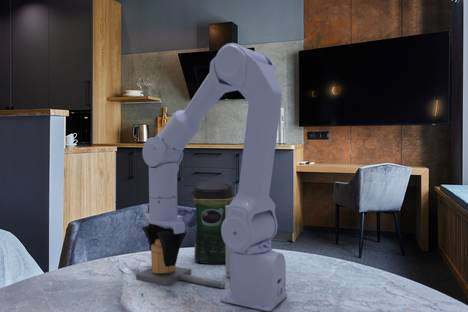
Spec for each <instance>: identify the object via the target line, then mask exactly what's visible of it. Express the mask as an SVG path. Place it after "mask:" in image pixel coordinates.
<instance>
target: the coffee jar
mask: <svg viewBox="0 0 468 312" xmlns="http://www.w3.org/2000/svg"><path fill="white" fill-rule="evenodd" d="M193 190H194V192H193V200H192V201H193V204H194V207H195V212H196V218H195V220H196V221H195V223H196V224H195V225H196V227H195V238H194V239H195V240H194V252H193V253H194V255H193V256H194V260H195V261H196V262H197V263H203V264H214V265H215V264H217V265H218V264H226V244H225V242H224V241H223V238H222V234H221V227H222V223H223V221H224V220H225V214H226V213H225V206H228V205H230V203H231V202H232V200H233V199H234V198H235V193H234V187H233V183H232V182H228V181H206V182H205V181H203V182H198V183H196V184H195V186H194V188H193Z"/></svg>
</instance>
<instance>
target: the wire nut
mask: <svg viewBox="0 0 468 312" xmlns="http://www.w3.org/2000/svg"><path fill="white" fill-rule="evenodd" d="M150 255H151V257H150V258H151V259H150V260H151V268H152V272H154V273H159V274H160V273H170V272H172V271H175V270H176V267H177V266H176V265H173V266H168V267H166V266H165V264H164V259H163V250H162V245H161V242H160V239H156V240H155V243H154V244H152V245H151V249H150Z"/></svg>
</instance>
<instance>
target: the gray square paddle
mask: <svg viewBox="0 0 468 312" xmlns="http://www.w3.org/2000/svg"><path fill="white" fill-rule="evenodd" d="M135 279H136V280H138V281H143V282H148V283H152V284H156V285H162V286H166V287H167V286H170V285H173V284H175V283H176V282H178V281H184V282H188V283H195V284H199V285H203V286H207V287H209V286H210V287H214V288H218V289H219V288H220V289H224V288H225V287H226V283H225V282H224V281H223V280H217V279H211V278H204V277H201V276H200V277H199V276H194V275H192V268H187V267H181V266H176V270H175V271H172V272H170V273H160V274H159V273H154V272H152V267H151V268H149V269H146V270H144V271H141V272H138V273H136V274H135Z"/></svg>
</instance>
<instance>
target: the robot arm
mask: <svg viewBox="0 0 468 312" xmlns="http://www.w3.org/2000/svg"><path fill="white" fill-rule="evenodd" d="M276 67H277V66H276V64H275V63H274V61H273V60H271V59H270V58H269V57H268V55H266V54H265V53H263V52H258V51H254V50H252V49H249V48H246V47H244V46H241V45H240V44H238V43H235V42H229V43H225V45H223V46H222V47H220V49H219V50H218V51H217V53H216V55H215V56H214V58H212V60H211V61H210V63H209V73H208V74H207V75H206V77H205V79H204V80H203V82H202V83H201V84H200V87H199V88H198V89H197V91H196V92H195V93H194V95H193V97H192V98H191V100H190V102H189V103H188V104H187V106H186V108H185V109H181V110H177V111H175V112H173V113H171V115H170V117H169V118H170V119H169V121H167V123H166V124H165V126H164V127H163V128H162V129H161V130H160V131H159V133H158V134H157V135H155V136H154V137H149V138H147V139H146V140H145V143H144V144H143V147H142V158H143V161H144V163H145V164H146V165H147V166H148V194H149V195H148V196H149V197H148V200H149V201H148V205H149V208H148V209H149V210H148V211H149V212H148V213H145V214H144V222H145V223H146V224H148V225H145V226H142V231H143V232H144V234H145V237H146V238H147V241H148V244H149V245H148V246H149V249H150V250H151V245H152V244H154V243H155V240H156V239H160V242H161V245H162V250H163V259H164V264H165V266H166V267H168V266H173V265H176V264H177V260H178V257H179V252H180V248H181V246H182V244H183V241H184V238H185V237H186V235H187V230H186V226H185V225H186V224H185V222H183V221H182V220H183V216H182V215H178V173H179V171H180V164H181V162H182V160H183V158H184V149H185V148H187V145H189V143H190V142H191V140H193V138H194V137H195V136H196V134H198V132H199V131H200V129H201V124H200V121H201V119H202V118H203V117H204V116H205V115H206V114H207V113H208V112H209V110H211V109H212V107H213V106H214V105H216V103H218V101H219V100H220V99H221V98H222V97H223V95H225V94H226V93H229V92H235V91H236V92H237V91H238V92H239V93H240V94H241V95H242V96H243V97H244V98H245V100H246V101H247V102H248V107H247V115H246V116H247V117H246V124H245V132H244V140H243V149H242V157H241V166H240V174H239V182H238V190H237V193H236V195H234V199H233V200H232V202H231V203H230V205H229V207H228V213H227V216H226V218H225V220H224V221H223V223H222V227H221V234H222V238H223V241H224V242H225V244H226V245H227V246H228V251H230V277H229V292H228V293H225V294H224V295H223V296H221V297H220V301H221V302H224V303H227V304H232V305H237V306H241V307H245V308H251V309H255V310H259V311H265V312H271V311H272V310H274V308H275V307H277V306H278V305H279V304H280V303H281V302H282V301H283V300H285V299H286V298H287V297H288V293H287V292H286V291H287V290H286V288H287V286H286V283H287V282H286V281H287V280H286V278H287V277H286V273H287V272H286V271H287V269H286V267H287V266H286V265H287V264H286V259H285V255H284V254H283V253H282V252H279V251H276V250H273V249H272V239H274V238H275V236H276V234H277V231H278V219H277V217H276V203H275V202H274V201H273V200H272V198H271V197H270V191H271V183H272V177H273V170H274V169H273V168H274V162H275V161H274V160H275V152H276V147H277V146H276V145H277V137H278V129H279V122H280V117H281V116H280V115H281V108H282V99H283V96H282V95H283V94H282V90H281V86H280V84H279V81H278V78H277V74H276Z"/></svg>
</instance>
